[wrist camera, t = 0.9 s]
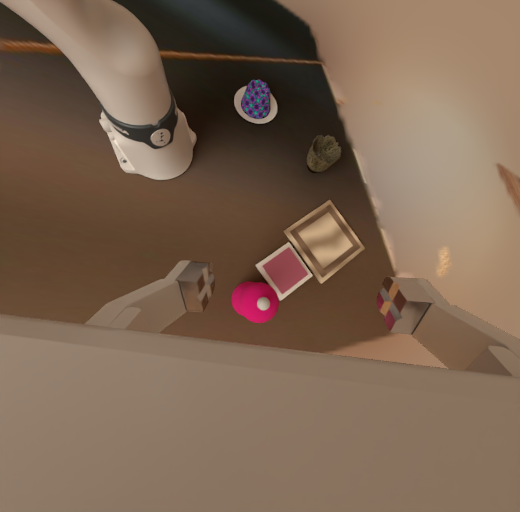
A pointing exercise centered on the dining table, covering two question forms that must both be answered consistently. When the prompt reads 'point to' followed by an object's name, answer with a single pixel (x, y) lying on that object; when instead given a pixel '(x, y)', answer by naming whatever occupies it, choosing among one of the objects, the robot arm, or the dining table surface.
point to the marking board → (324, 241)
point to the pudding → (256, 102)
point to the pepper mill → (255, 301)
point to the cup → (322, 153)
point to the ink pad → (284, 270)
